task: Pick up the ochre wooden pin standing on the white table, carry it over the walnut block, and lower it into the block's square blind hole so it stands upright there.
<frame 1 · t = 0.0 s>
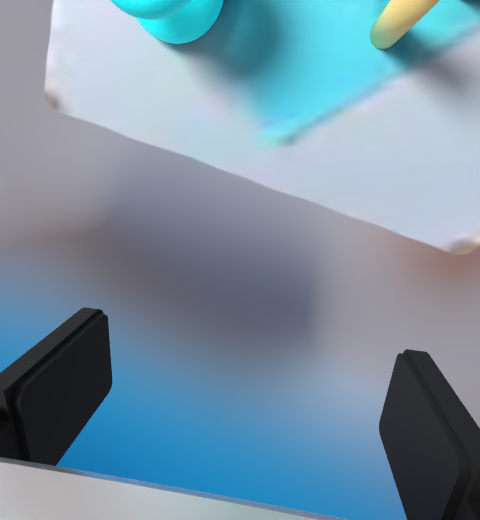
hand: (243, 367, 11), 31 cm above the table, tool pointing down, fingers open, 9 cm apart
pin: (385, 32, 33), on the table
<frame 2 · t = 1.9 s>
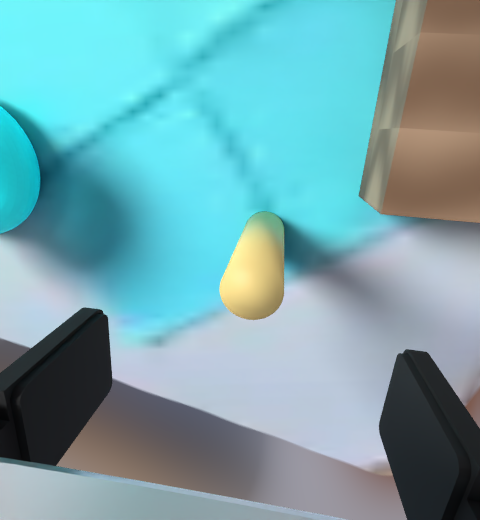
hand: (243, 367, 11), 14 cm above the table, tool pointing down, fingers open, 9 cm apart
pin: (264, 230, 24), on the table
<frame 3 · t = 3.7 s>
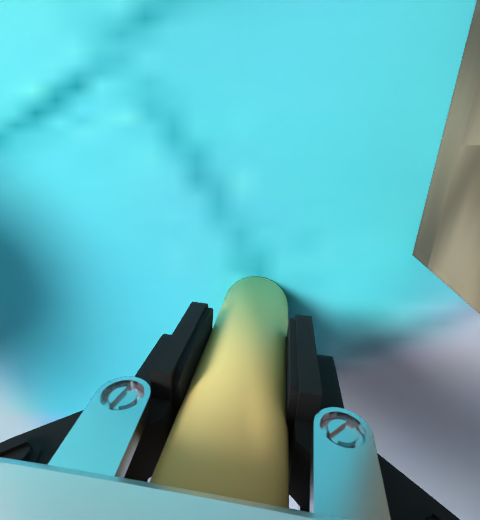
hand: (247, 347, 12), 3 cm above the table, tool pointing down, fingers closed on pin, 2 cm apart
pin: (256, 305, 15), on the table, touching gripper
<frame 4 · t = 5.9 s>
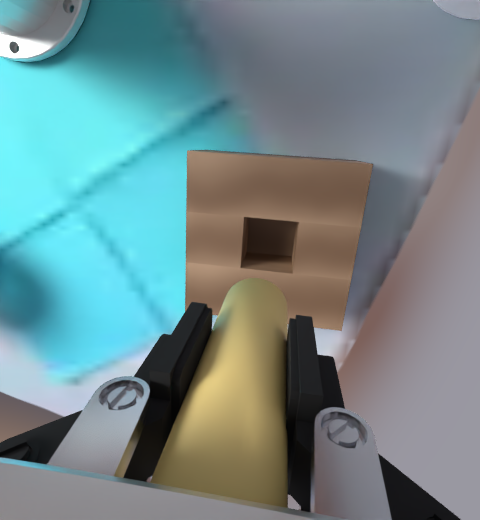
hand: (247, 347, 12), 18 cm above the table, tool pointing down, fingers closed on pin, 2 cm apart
pin: (255, 307, 15), point 15 cm above the table, touching gripper
bore block: (272, 227, 29), on the table
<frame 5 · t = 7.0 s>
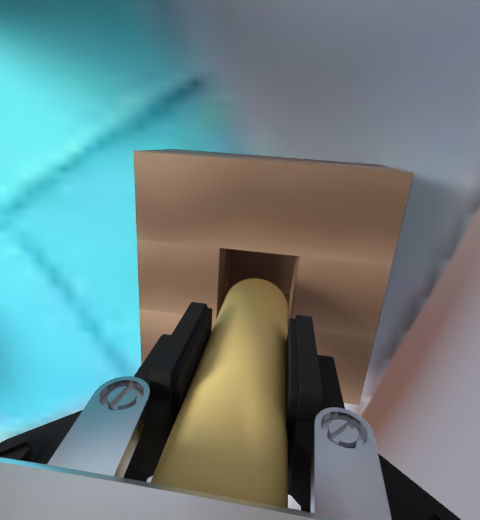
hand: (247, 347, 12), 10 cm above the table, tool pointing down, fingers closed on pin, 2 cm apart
pin: (255, 307, 15), point 7 cm above the table, touching gripper
bore block: (263, 254, 22), on the table
when the fingers open (6 cm above the table, at t = 8.1 s): pin drops 1 cm, resting on bore block.
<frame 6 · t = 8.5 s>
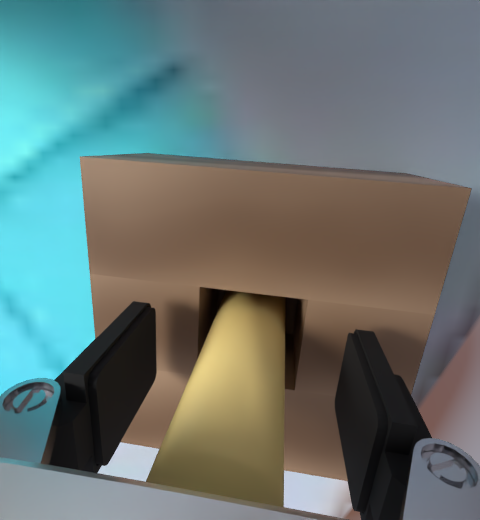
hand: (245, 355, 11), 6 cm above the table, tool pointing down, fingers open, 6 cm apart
pin: (256, 295, 16), point 1 cm above the table, touching bore block
bore block: (260, 282, 17), on the table
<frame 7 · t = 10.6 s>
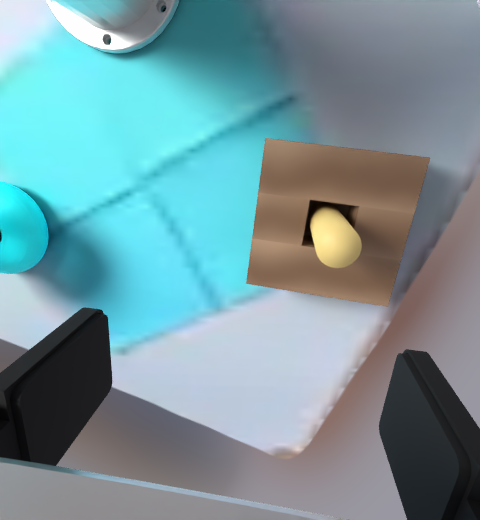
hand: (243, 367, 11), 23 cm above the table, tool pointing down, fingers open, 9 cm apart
pin: (323, 217, 30), point 2 cm above the table, touching bore block
bore block: (323, 214, 32), on the table
cyan round grooved piece: (14, 225, 37), on the table
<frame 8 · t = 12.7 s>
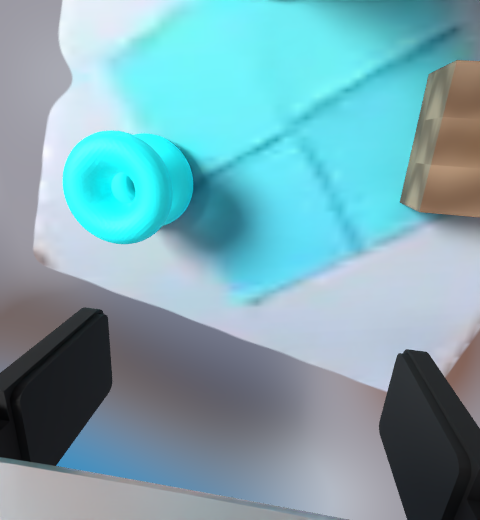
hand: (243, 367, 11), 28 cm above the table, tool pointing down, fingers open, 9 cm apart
bore block: (477, 146, 33), on the table
cyan round grooved piece: (154, 180, 38), on the table
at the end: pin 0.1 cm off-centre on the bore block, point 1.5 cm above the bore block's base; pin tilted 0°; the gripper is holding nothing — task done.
